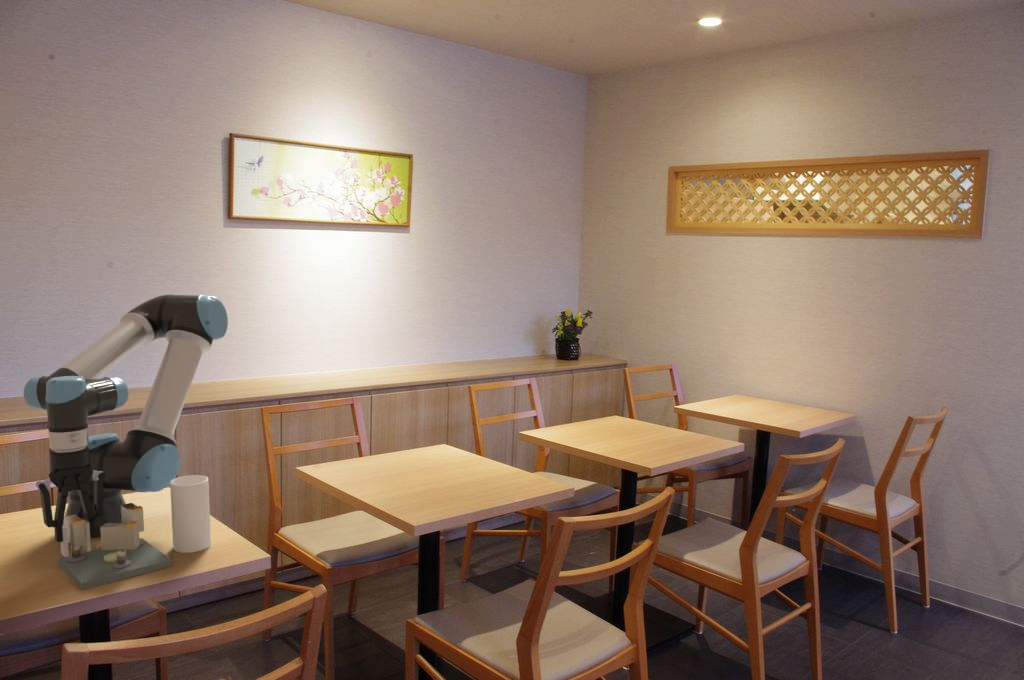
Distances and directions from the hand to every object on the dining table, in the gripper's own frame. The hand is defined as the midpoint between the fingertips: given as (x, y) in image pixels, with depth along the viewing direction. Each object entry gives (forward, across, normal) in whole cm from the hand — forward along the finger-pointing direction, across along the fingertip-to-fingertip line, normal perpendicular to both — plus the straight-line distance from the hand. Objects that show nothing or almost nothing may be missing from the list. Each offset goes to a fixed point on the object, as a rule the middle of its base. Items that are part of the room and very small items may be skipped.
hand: (76, 552), depth 175 cm
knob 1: (+2, +6, -10) cm, 12 cm away
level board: (+3, +6, -6) cm, 9 cm away
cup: (+3, +23, -6) cm, 24 cm away
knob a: (+2, 0, 0) cm, 2 cm away
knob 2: (+2, +12, 0) cm, 12 cm away
